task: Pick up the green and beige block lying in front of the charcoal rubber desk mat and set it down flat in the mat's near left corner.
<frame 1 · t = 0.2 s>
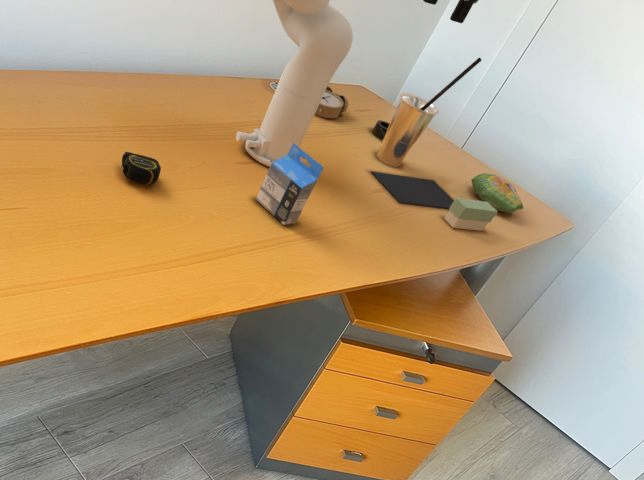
hand: (442, 12, 142), 37 cm above the table, tool pointing down, fingers open, 9 cm apart
educational model: (490, 202, 178), on the table
ink cartridge box: (274, 212, 135), on the table
metal cup with straw: (389, 162, 176), on the table
tape measure: (136, 177, 128), on the table
duct tape: (381, 136, 189), on the table
green and beige block: (463, 224, 160), on the table
alarm clock: (321, 109, 190), on the table
desk mat: (416, 191, 167), on the table
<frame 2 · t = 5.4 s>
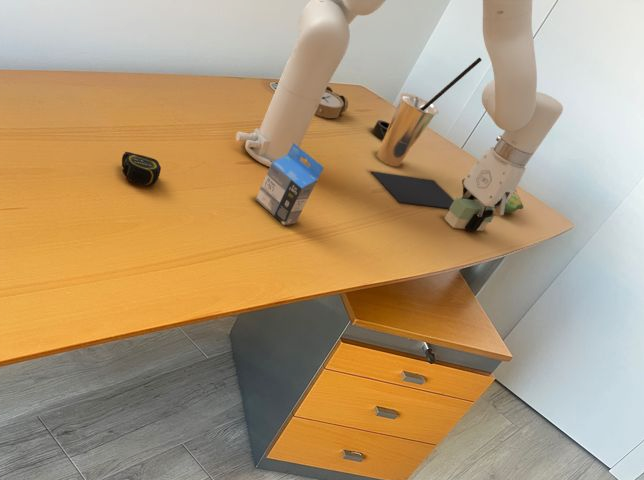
hand: (464, 223, 160), 1 cm above the table, tool pointing down, fingers closed on green and beige block, 4 cm apart
green and beige block: (463, 224, 160), on the table, touching gripper
everything else where it was.
when the fingers open (1 cm above the table, at t = 12.3 s): green and beige block stays where it is, resting on desk mat.
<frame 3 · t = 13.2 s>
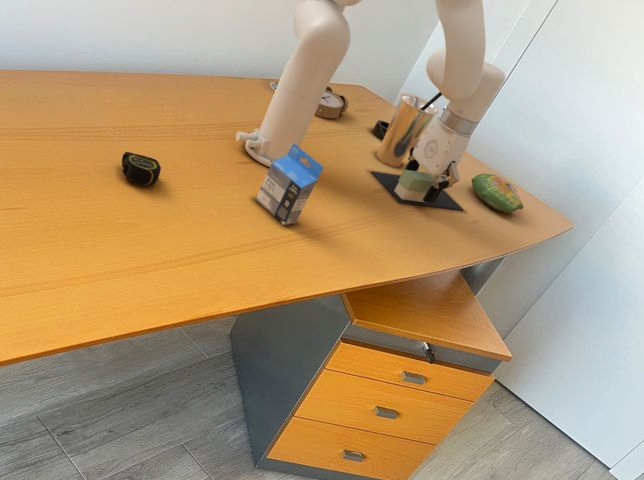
hand: (416, 190, 161), 2 cm above the table, tool pointing down, fingers open, 9 cm apart
green and beige block: (413, 197, 163), resting on desk mat
everything else where it was.
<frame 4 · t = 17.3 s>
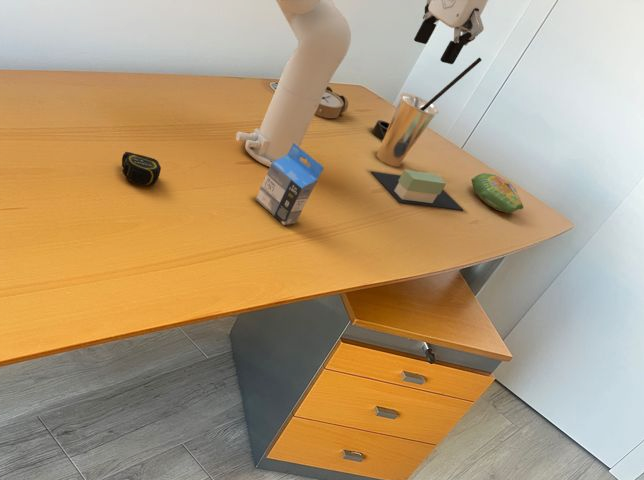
hand: (432, 52, 141), 30 cm above the table, tool pointing down, fingers open, 9 cm apart
nothing on the table moved.
at the end: green and beige block inside the target area (0.3 cm from its centre), resting on desk mat; green and beige block touching desk mat; green and beige block tilted 0° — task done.
